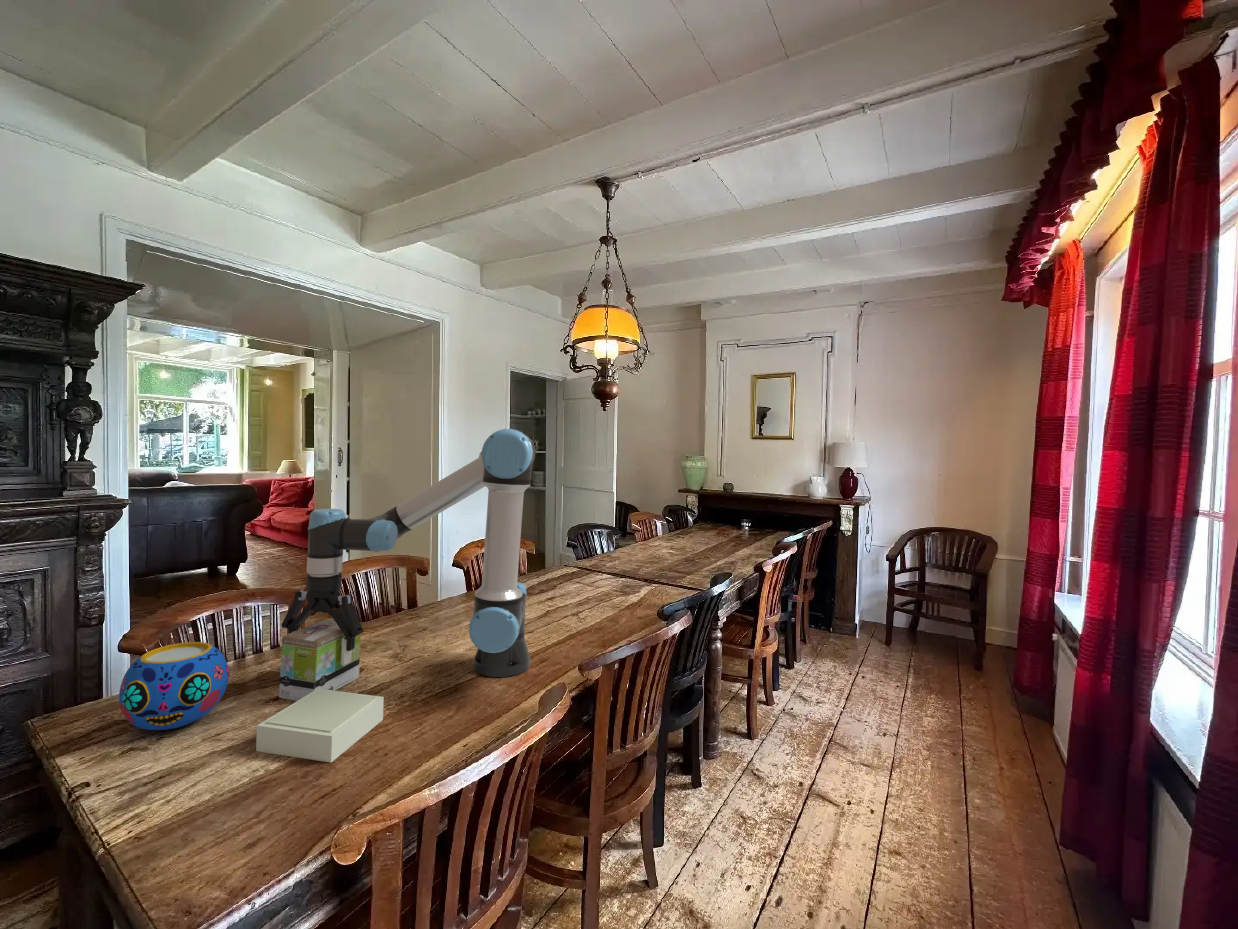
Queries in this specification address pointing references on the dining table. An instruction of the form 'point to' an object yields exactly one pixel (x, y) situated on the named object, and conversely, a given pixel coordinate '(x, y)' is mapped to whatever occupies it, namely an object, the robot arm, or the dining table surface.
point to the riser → (320, 725)
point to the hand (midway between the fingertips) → (320, 660)
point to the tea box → (315, 660)
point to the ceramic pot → (173, 685)
